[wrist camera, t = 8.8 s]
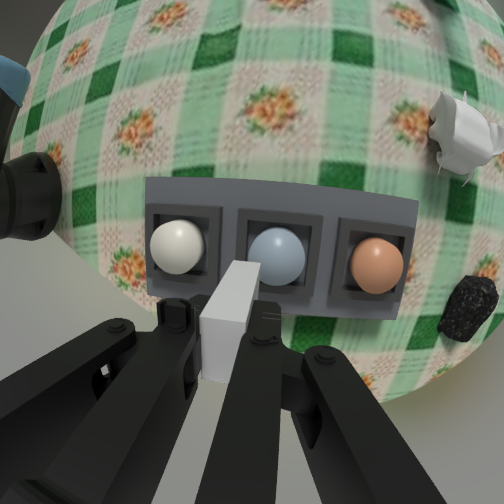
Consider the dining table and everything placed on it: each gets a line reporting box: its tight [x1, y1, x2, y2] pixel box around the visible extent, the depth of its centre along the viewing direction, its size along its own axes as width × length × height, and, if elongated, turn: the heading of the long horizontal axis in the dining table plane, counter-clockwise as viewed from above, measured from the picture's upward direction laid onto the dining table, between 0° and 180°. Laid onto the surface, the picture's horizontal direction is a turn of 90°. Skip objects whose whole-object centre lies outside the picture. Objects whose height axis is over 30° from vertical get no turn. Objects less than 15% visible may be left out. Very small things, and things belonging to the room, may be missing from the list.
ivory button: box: [150, 219, 206, 274], centre depth 27 cm, size 5×5×2 cm
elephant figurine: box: [428, 91, 504, 187], centre depth 22 cm, size 10×12×9 cm
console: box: [145, 177, 419, 320], centre depth 29 cm, size 30×14×6 cm, turn 86°
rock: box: [438, 275, 499, 342], centre depth 28 cm, size 7×10×6 cm
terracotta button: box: [349, 237, 403, 294], centre depth 25 cm, size 5×5×2 cm
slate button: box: [248, 227, 305, 286], centre depth 26 cm, size 5×5×2 cm
